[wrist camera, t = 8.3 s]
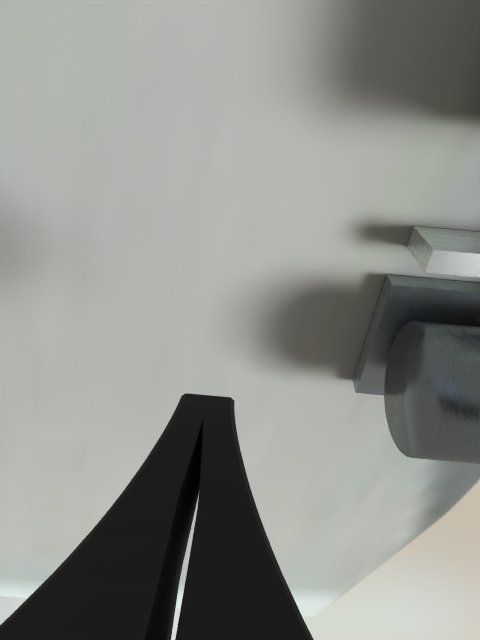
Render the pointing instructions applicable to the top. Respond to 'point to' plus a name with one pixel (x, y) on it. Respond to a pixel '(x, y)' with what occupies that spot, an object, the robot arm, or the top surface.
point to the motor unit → (429, 350)
